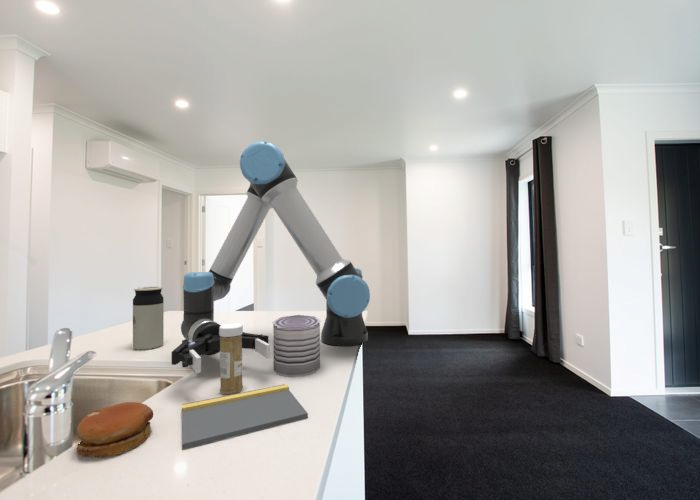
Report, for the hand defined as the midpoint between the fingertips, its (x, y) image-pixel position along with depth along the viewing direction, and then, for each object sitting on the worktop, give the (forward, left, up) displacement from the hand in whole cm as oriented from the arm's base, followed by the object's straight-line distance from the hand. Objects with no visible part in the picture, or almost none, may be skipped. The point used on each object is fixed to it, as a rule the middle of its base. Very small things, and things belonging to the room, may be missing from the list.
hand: (236, 357), depth 64 cm
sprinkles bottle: (0, -3, -8) cm, 8 cm away
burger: (+18, +7, -8) cm, 21 cm away
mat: (0, +8, -8) cm, 11 cm away
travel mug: (+18, -49, -8) cm, 53 cm away
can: (-16, -9, -8) cm, 20 cm away
